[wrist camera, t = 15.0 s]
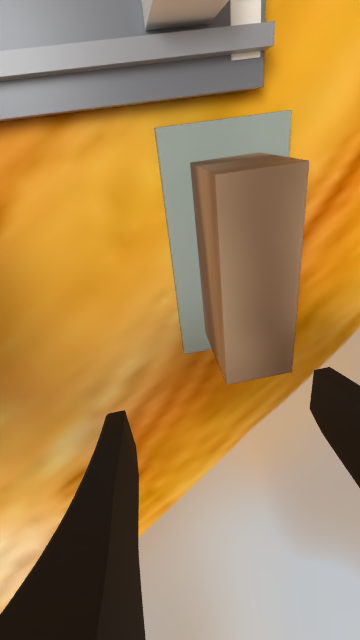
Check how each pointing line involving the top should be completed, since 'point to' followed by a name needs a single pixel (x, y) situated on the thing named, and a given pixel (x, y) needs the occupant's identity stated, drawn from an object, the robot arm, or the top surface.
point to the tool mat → (174, 162)
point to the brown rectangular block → (250, 259)
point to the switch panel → (122, 55)
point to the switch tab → (179, 12)
